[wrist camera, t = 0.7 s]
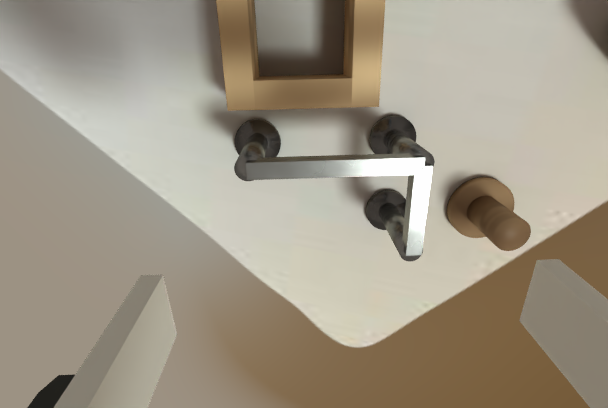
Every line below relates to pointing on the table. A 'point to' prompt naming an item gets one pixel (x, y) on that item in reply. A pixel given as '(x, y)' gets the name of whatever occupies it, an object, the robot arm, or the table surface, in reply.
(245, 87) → the wooden square frame
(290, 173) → the gray metal stand
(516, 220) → the peg stand
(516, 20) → the table surface
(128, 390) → the robot arm
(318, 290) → the table surface
